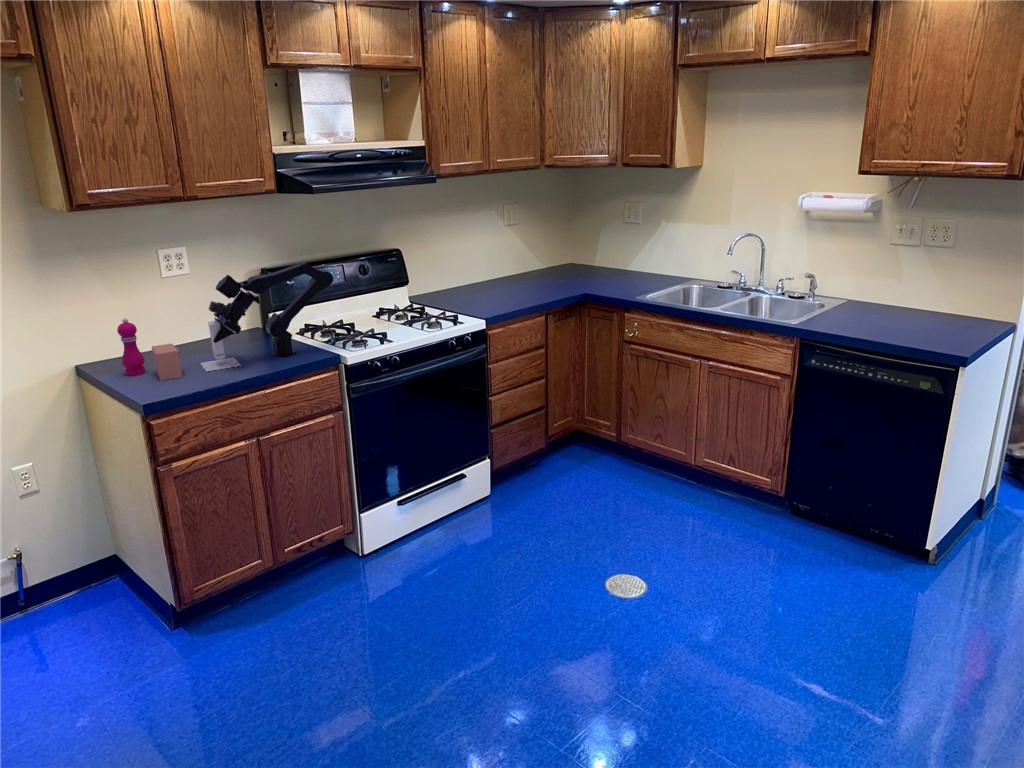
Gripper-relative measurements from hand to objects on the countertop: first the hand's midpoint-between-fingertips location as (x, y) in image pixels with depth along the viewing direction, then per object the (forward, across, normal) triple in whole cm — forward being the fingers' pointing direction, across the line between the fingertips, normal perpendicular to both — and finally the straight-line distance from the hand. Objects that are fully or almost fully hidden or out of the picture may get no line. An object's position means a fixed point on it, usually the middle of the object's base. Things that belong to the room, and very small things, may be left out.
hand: (212, 340), depth 264 cm
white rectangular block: (+4, 0, +6) cm, 7 cm away
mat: (+6, 0, +8) cm, 10 cm away
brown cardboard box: (+18, 0, -5) cm, 19 cm away
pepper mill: (+25, -9, -12) cm, 29 cm away
